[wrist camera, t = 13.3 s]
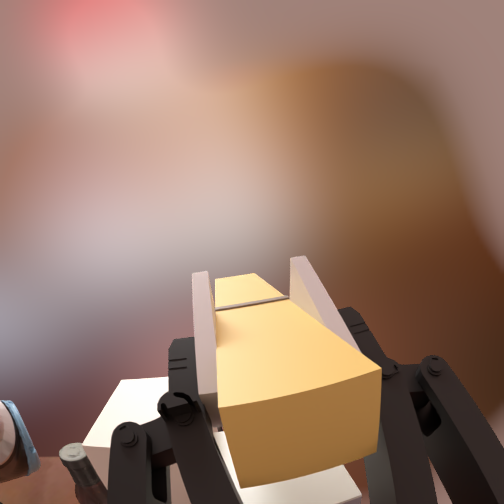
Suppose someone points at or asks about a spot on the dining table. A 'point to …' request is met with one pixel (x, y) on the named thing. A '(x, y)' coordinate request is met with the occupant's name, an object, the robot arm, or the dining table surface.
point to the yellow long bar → (288, 387)
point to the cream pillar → (134, 410)
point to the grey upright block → (296, 485)
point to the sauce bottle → (83, 475)
